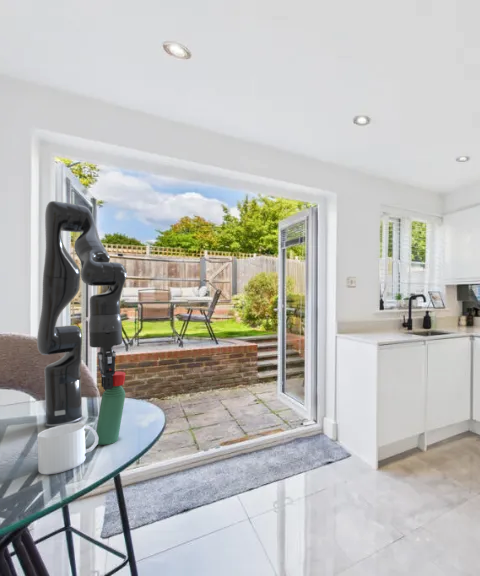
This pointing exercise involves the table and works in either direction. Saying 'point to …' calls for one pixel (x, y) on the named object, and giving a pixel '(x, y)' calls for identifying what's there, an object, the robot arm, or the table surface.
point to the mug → (63, 447)
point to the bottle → (110, 415)
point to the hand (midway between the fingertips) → (107, 387)
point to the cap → (119, 378)
